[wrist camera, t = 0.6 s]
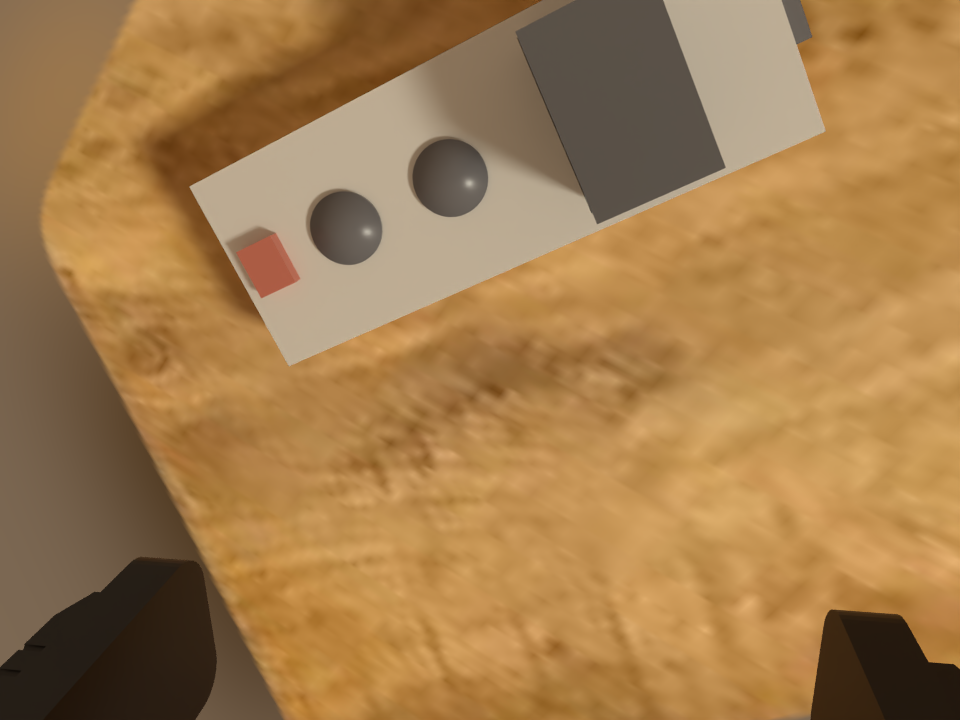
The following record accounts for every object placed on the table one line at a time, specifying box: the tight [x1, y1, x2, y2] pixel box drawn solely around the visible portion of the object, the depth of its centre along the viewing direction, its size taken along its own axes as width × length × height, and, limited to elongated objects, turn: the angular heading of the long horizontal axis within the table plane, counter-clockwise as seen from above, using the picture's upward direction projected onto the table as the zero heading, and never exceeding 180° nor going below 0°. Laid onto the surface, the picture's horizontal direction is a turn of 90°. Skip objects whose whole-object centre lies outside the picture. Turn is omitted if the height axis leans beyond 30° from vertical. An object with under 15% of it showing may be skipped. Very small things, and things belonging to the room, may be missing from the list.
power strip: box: [189, 0, 825, 366], centre depth 29 cm, size 23×8×4 cm, turn 115°
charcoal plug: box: [515, 0, 726, 224], centre depth 26 cm, size 4×6×8 cm, turn 25°
